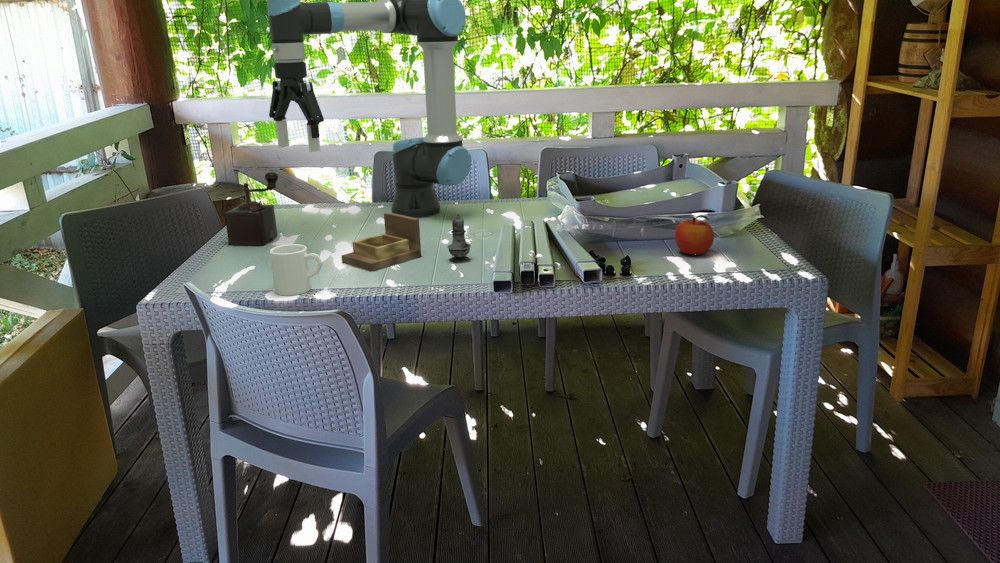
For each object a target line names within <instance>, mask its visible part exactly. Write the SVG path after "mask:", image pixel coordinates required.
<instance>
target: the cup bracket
mask: <svg viewBox="0 0 1000 563" xmlns="http://www.w3.org/2000/svg"><path fill="white" fill-rule="evenodd" d="M383 222H384V232H385V233H382V234H378V235H377V234H376V235H374V236H370V237H366V238H363V239H358V240H356V241H354V240H353V241H352V242H351V243H352V252H349V253H346V254H342V255H341V256H340V257H341V263H342V264H344V265H347V266H350V267H351V266H352V267H354V268H358V269H362V270H364V269H365V271H368V272H371V271H373V272H376V271H379V270H382V269H385V268H389V267H393V266H396V265H399V264H402V263H406V262H408V261H411V260H414V259H419V258H422V248H421V247H422V246H421V244H422V243H421V232H420V230H421V229H420V218H419V217H417V218H413V217H408V216H404V215H399V214H394V213H392V212H389V211H388V212H384V213H383Z"/></svg>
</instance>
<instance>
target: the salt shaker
mask: <svg viewBox="0 0 1000 563" xmlns="http://www.w3.org/2000/svg"><path fill="white" fill-rule="evenodd" d="M464 222H465V221H464V218H463V217H461V216H460V215H459V213H457V214H456V216H455V217H453V218H452V221H451V224H452V231H451V234H452V242H451V244H448V245H447V249H448V251H449V254H450V255H451V256H452V257H450V258H449V259H448V260H449V262H451V263H452V262H453V264H464V263H463V262H465V263H468V262H470V261H471V258H470V257H468V256H467V255H469V253H470V250H471V247H472V246H471V245H472V244H469V243H467V242H466V235H465V233H466V230H465V223H464ZM469 260H470V261H469Z"/></svg>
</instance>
